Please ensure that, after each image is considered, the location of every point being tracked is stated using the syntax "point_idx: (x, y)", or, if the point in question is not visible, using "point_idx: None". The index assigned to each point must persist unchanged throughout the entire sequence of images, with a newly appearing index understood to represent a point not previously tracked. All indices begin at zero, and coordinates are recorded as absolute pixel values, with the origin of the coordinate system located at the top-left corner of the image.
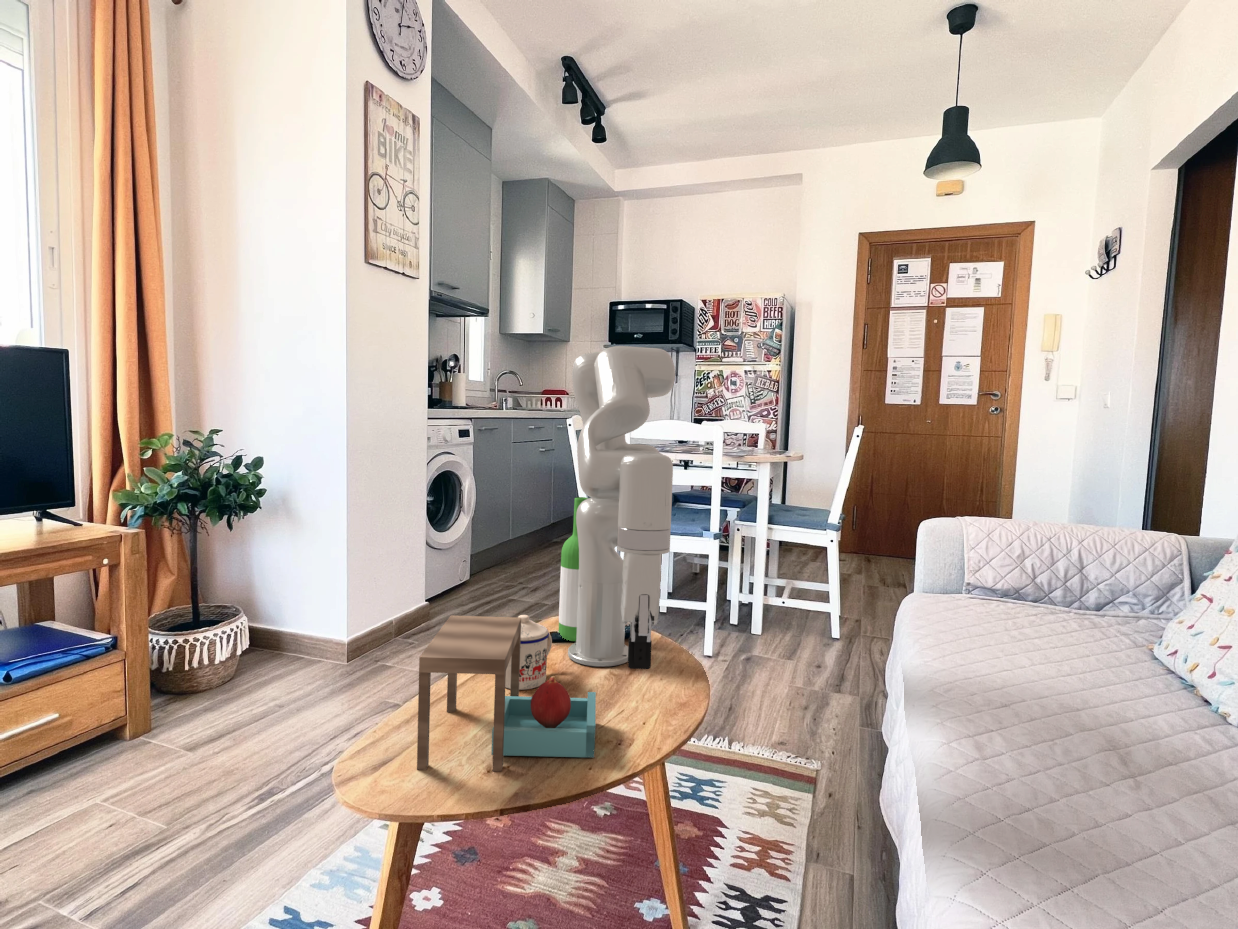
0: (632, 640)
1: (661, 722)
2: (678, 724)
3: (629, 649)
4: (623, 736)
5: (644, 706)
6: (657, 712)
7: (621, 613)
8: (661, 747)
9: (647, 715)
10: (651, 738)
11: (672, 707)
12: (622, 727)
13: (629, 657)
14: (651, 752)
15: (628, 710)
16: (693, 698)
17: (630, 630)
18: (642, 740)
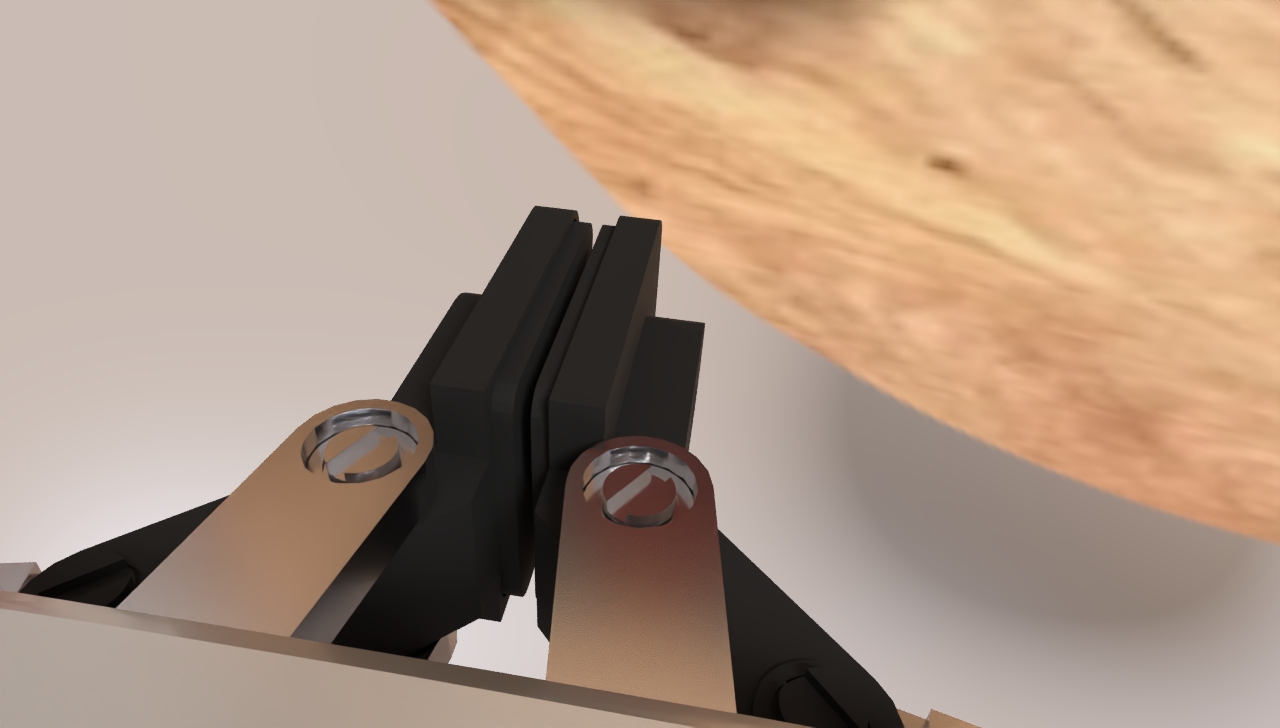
0: (313, 432)
1: (934, 264)
2: (891, 340)
3: (473, 318)
4: (792, 4)
5: (1190, 213)
6: (1072, 271)
7: (207, 710)
8: (650, 201)
9: (1049, 206)
10: (750, 170)
11: (1112, 364)
12: (917, 15)
13: (501, 266)
14: (598, 139)
15: (1167, 96)
16: (1188, 489)
17: (687, 513)
18: (731, 115)
